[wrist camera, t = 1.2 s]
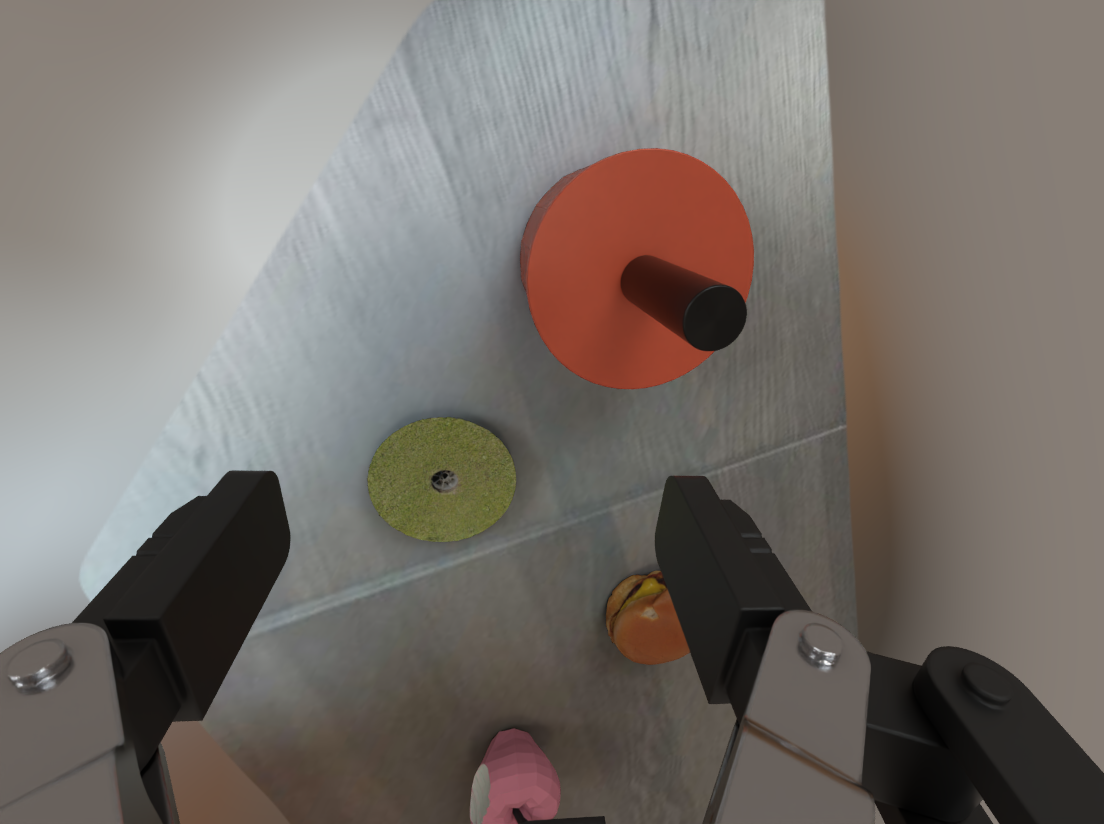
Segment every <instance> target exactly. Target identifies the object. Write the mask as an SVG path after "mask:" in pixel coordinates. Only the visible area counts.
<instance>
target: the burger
mask: <svg viewBox="0 0 1104 824" xmlns="http://www.w3.org/2000/svg"><path fill="white" fill-rule="evenodd" d="M606 627H607V629H608V634H609V636H610V637H611V640H612V643H613V642H614V644H616V646H617V648H618V649H619V650H620V652H621V653H622V654H623V655H624V656H625V657H627V658H628V659H630V660H632V661H633V662H637V663H640V664H648V665H653V664H661V663H665V662H669V661H673V660H676V659H679V658H681V657H683V656H685V655H686V654H688V653H690V650H689V647H688V644H687V642H686V639H685V636H684V633H683V631H682V628H681V625H680V622H679V619H678V617H677V614H676V611H675V608H674V606H673V603H672V600H671V597H670V594H669V592H668V589H667V586H666V583H665V581H664V578H663V575H662V572H661V571H653V572H651V573H650V574H648V575H647V576H646V575H643V576H641V575H632V576H630V577H628V578H626V579H625V580H623V581H622V582H621V583H620V584H619V585H618V586H617V587H616V588H615V589H614V590H613V591H612V595H611V597H609V600H608V603H607V611H606Z"/></svg>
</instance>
